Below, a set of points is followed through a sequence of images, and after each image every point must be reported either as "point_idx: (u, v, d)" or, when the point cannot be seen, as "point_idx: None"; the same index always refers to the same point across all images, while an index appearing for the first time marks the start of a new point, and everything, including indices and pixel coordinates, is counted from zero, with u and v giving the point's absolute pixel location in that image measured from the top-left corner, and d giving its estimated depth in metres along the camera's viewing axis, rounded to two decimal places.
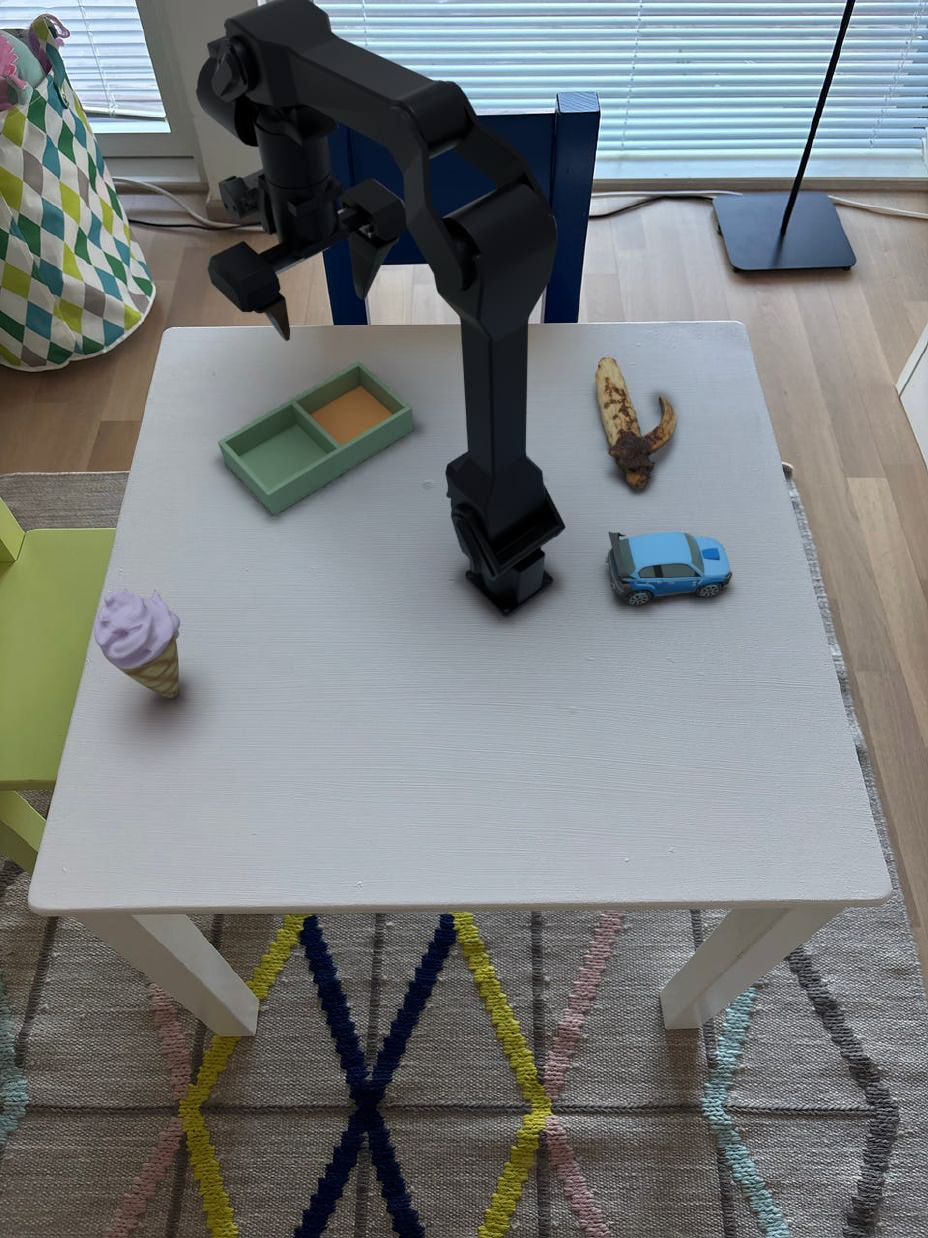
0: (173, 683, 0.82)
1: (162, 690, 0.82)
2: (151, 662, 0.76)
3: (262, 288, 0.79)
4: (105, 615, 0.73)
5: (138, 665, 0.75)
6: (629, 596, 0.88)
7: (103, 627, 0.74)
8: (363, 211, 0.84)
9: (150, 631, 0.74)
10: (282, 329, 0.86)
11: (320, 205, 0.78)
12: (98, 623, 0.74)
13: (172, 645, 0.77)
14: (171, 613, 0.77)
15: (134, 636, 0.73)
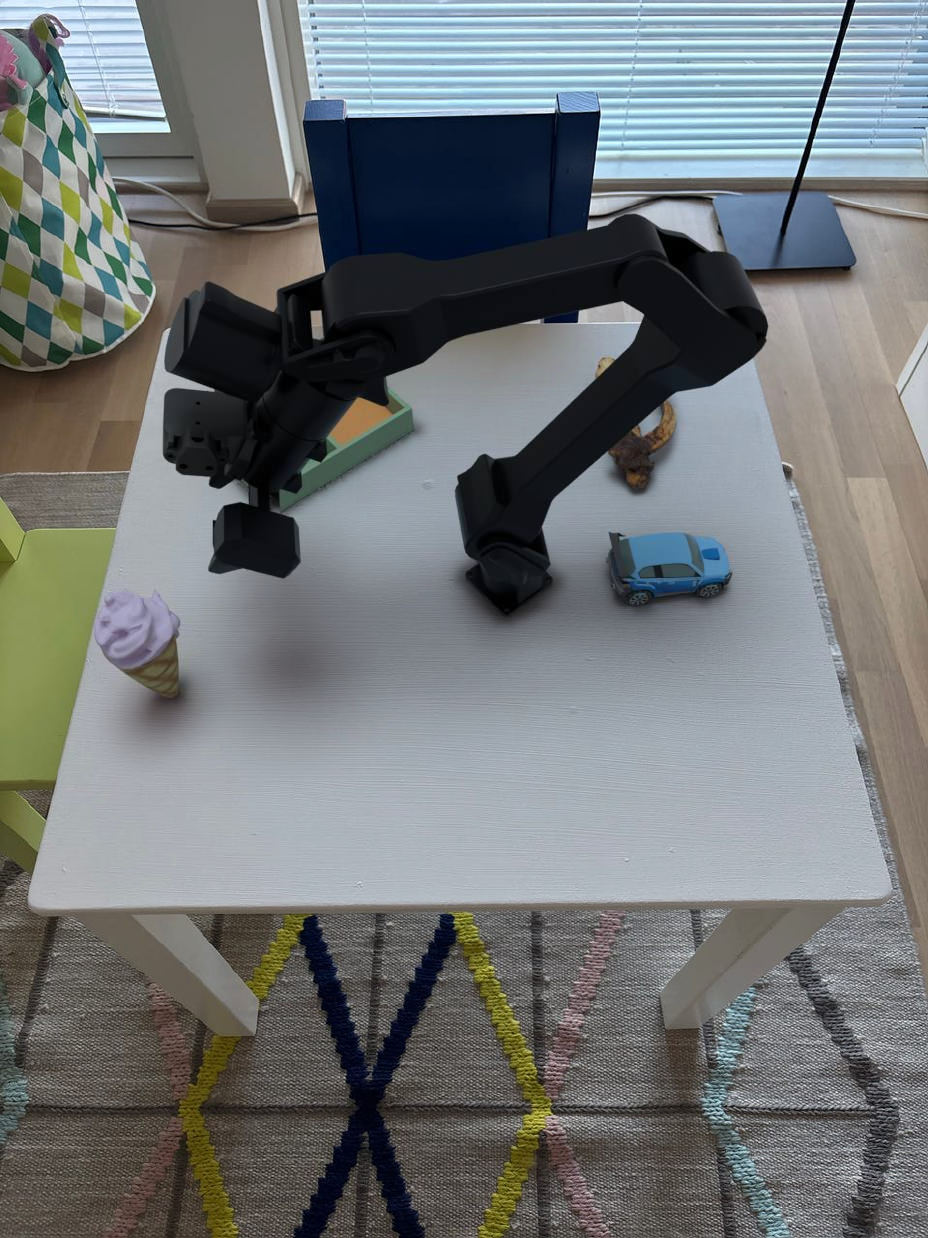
0: (173, 683, 0.82)
1: (162, 690, 0.82)
2: (151, 662, 0.76)
3: (299, 546, 0.70)
4: (105, 615, 0.73)
5: (138, 665, 0.75)
6: (629, 596, 0.88)
7: (103, 627, 0.74)
8: None
9: (150, 631, 0.74)
10: (242, 567, 0.75)
11: None
12: (98, 623, 0.74)
13: (172, 645, 0.77)
14: (171, 613, 0.77)
15: (134, 636, 0.73)
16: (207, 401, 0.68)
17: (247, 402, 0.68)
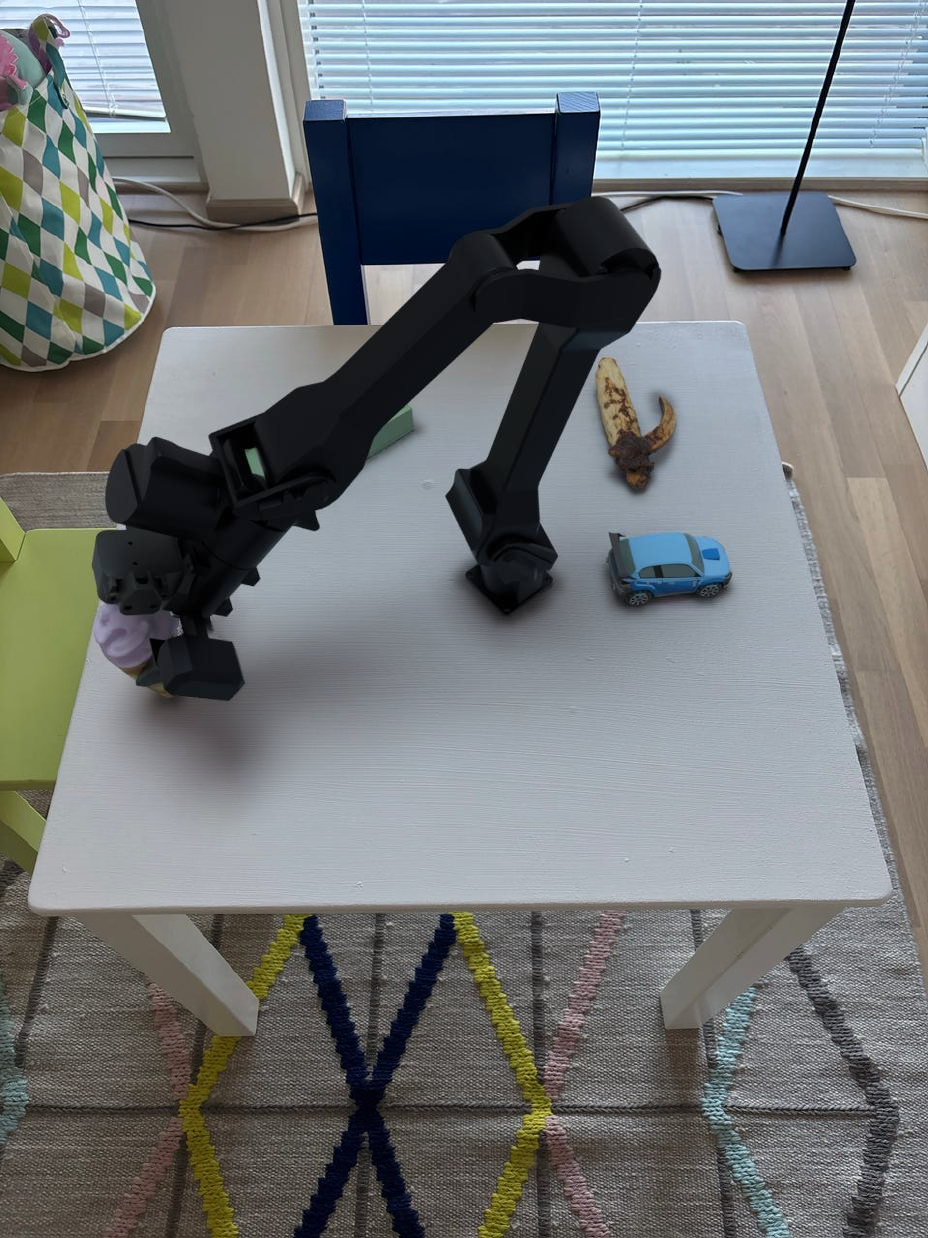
0: None
1: (162, 690, 0.82)
2: None
3: (239, 667, 0.73)
4: (105, 614, 0.73)
5: (137, 664, 0.75)
6: (629, 596, 0.88)
7: (102, 626, 0.74)
8: None
9: (150, 629, 0.74)
10: None
11: None
12: (98, 621, 0.74)
13: None
14: None
15: (133, 634, 0.73)
16: (138, 540, 0.69)
17: (178, 537, 0.71)
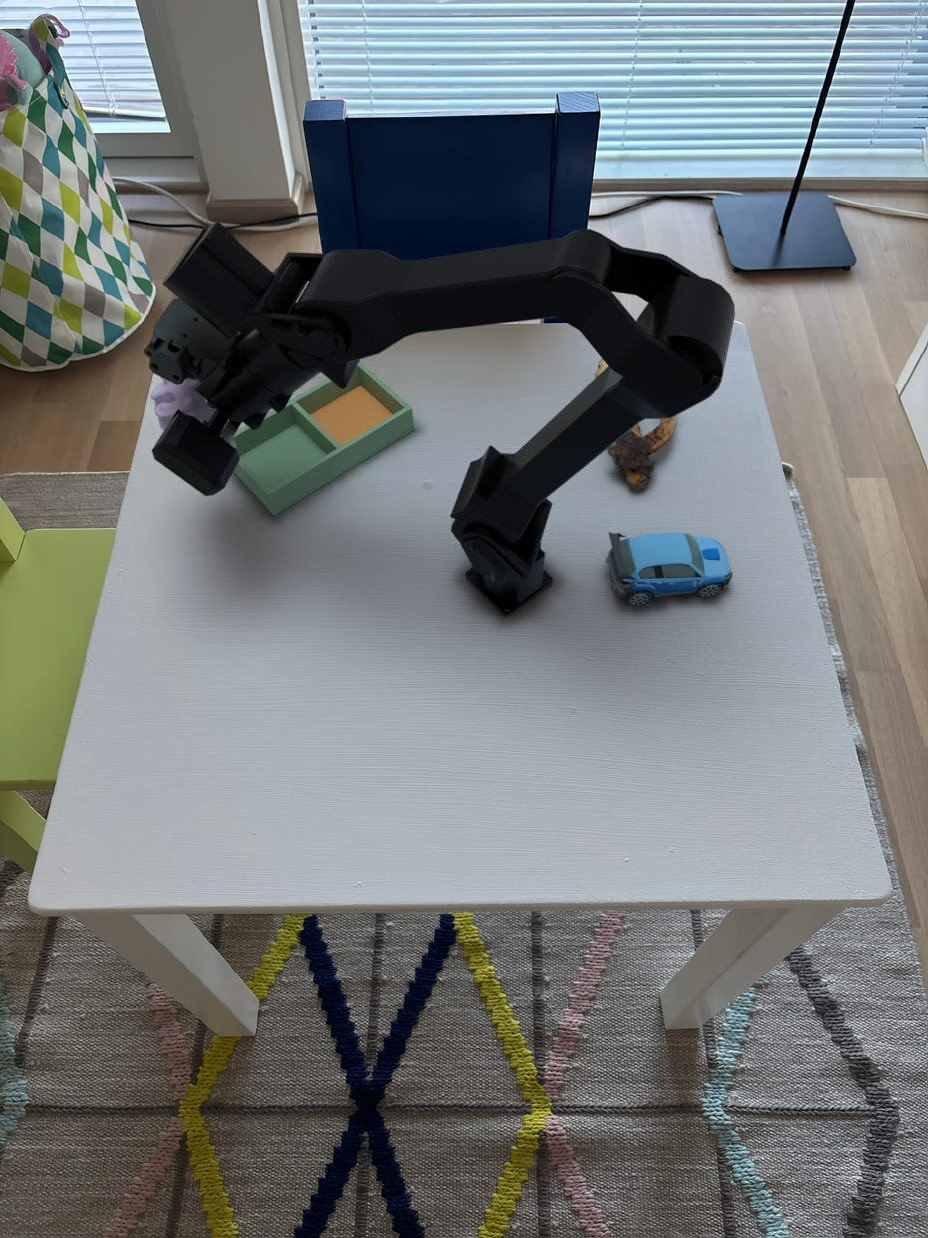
0: None
1: None
2: None
3: (230, 474, 0.77)
4: None
5: None
6: (629, 596, 0.88)
7: (162, 385, 0.81)
8: None
9: (191, 407, 0.80)
10: None
11: None
12: (164, 381, 0.82)
13: None
14: None
15: (175, 403, 0.80)
16: (204, 321, 0.75)
17: (237, 336, 0.75)
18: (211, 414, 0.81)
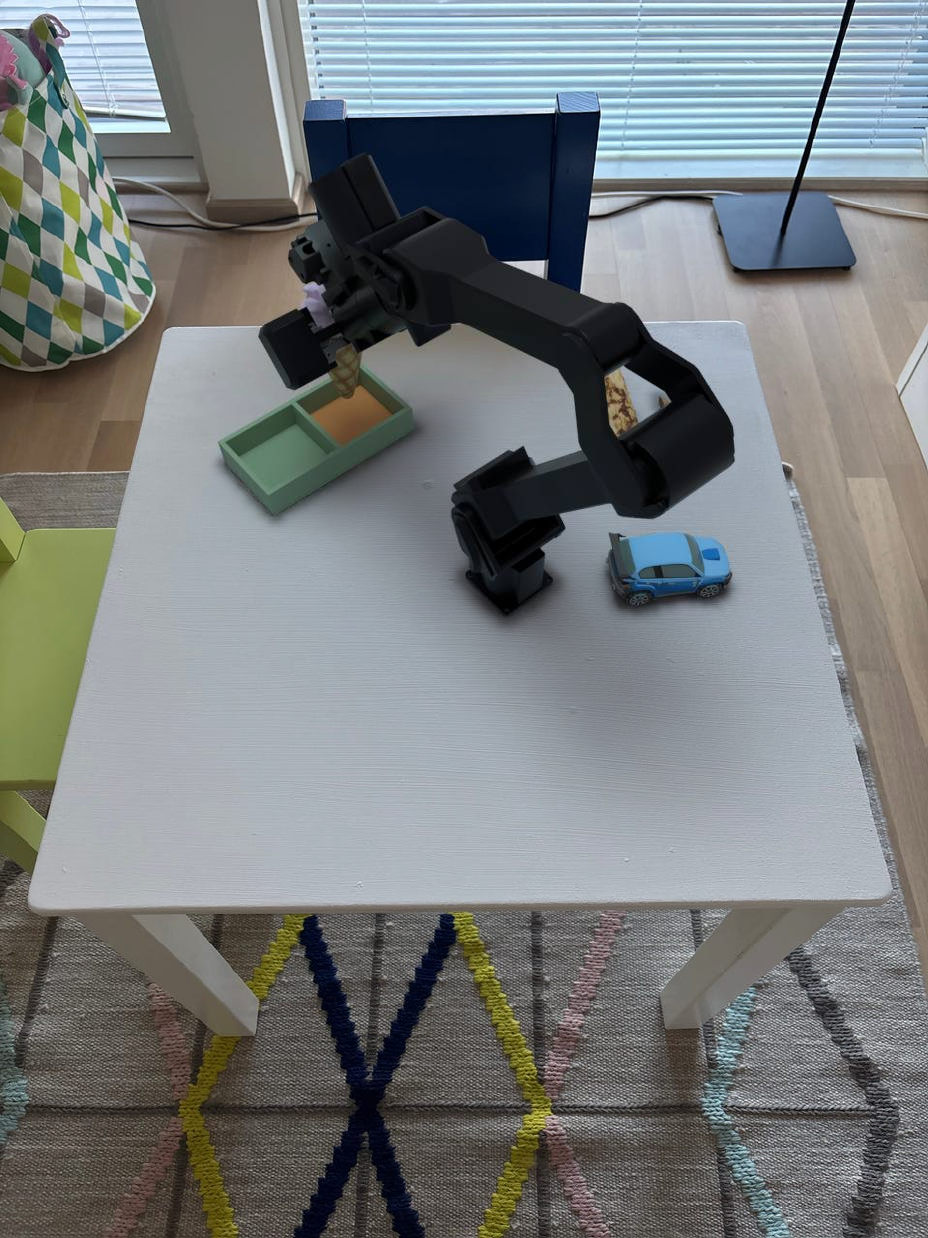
0: (338, 381, 0.95)
1: (330, 377, 0.96)
2: None
3: None
4: None
5: None
6: (629, 597, 0.88)
7: None
8: None
9: (324, 311, 0.87)
10: None
11: None
12: None
13: None
14: None
15: (314, 302, 0.87)
16: None
17: None
18: None
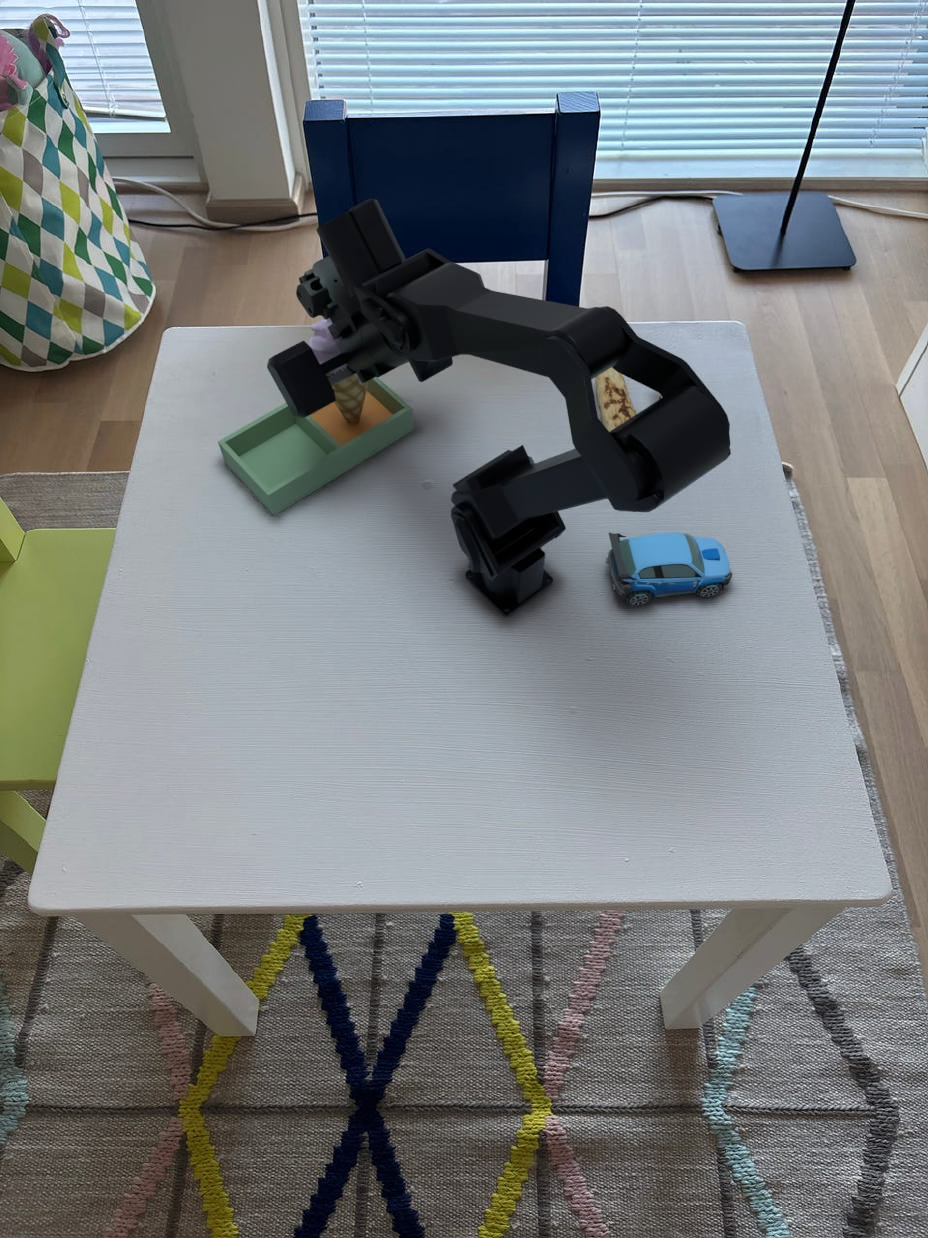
0: (345, 410, 0.99)
1: (337, 406, 0.99)
2: None
3: None
4: None
5: None
6: (629, 597, 0.88)
7: (325, 321, 0.91)
8: None
9: (332, 350, 0.90)
10: None
11: None
12: None
13: (345, 379, 0.93)
14: None
15: (322, 342, 0.90)
16: None
17: None
18: (346, 364, 0.90)
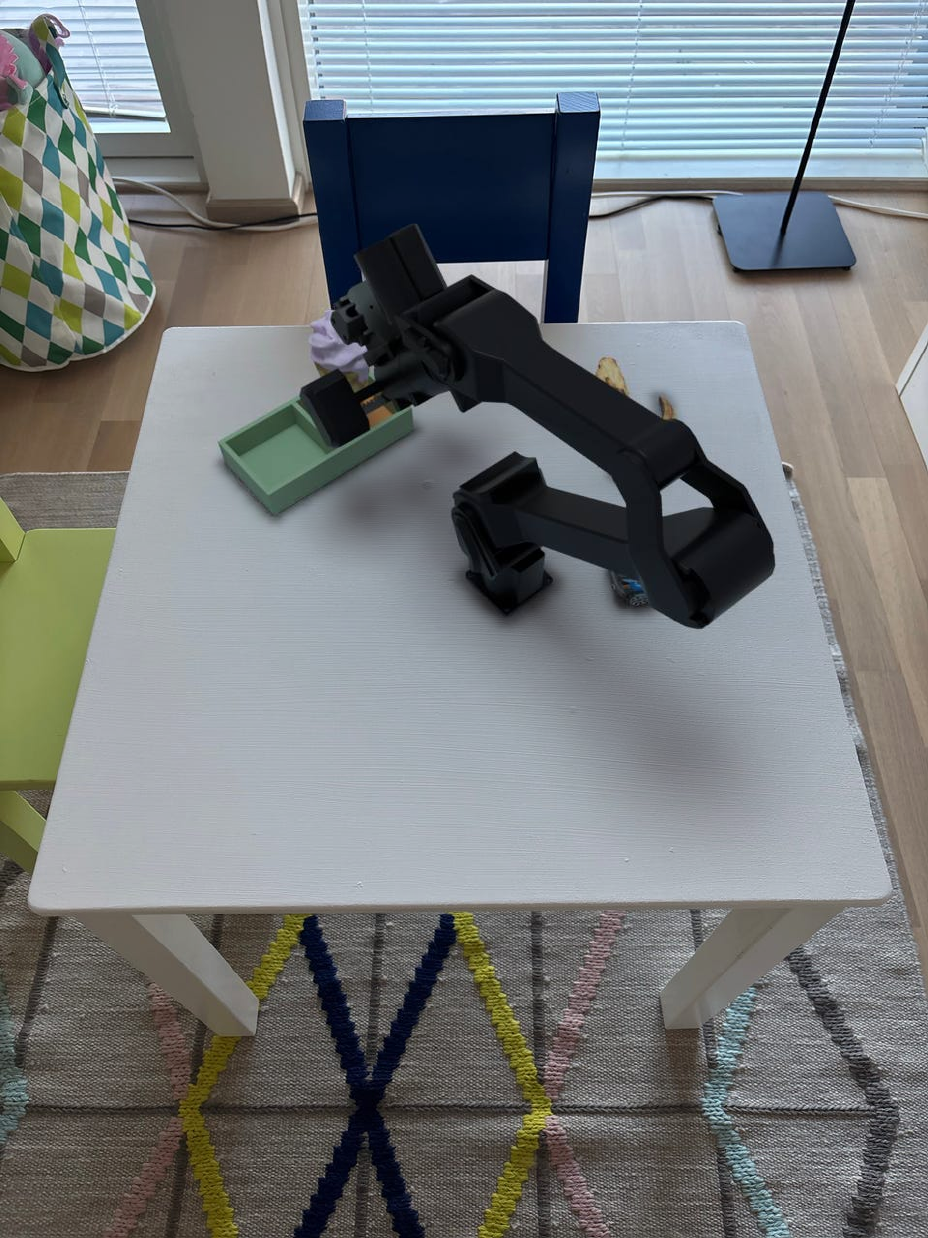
0: None
1: None
2: (322, 368, 0.93)
3: (354, 438, 0.84)
4: (329, 313, 0.91)
5: (313, 359, 0.92)
6: (629, 597, 0.88)
7: (324, 319, 0.92)
8: None
9: (331, 347, 0.90)
10: None
11: None
12: None
13: None
14: (363, 360, 0.92)
15: (321, 338, 0.90)
16: None
17: None
18: (345, 360, 0.90)
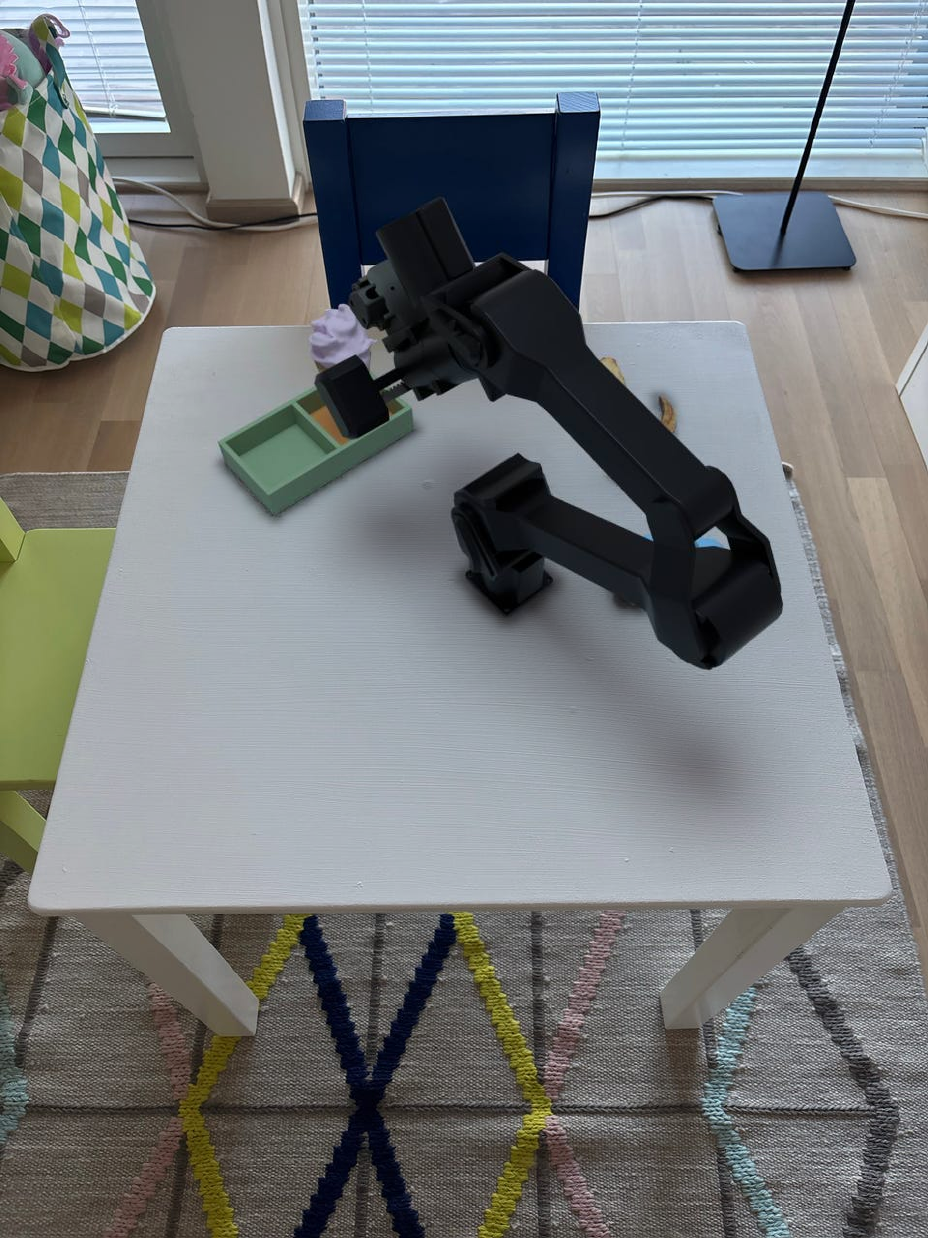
0: None
1: None
2: (322, 367, 0.93)
3: (373, 429, 0.78)
4: (330, 312, 0.91)
5: (314, 358, 0.92)
6: None
7: (324, 318, 0.92)
8: None
9: (332, 345, 0.90)
10: None
11: None
12: None
13: None
14: (364, 359, 0.92)
15: (321, 337, 0.90)
16: None
17: None
18: None
